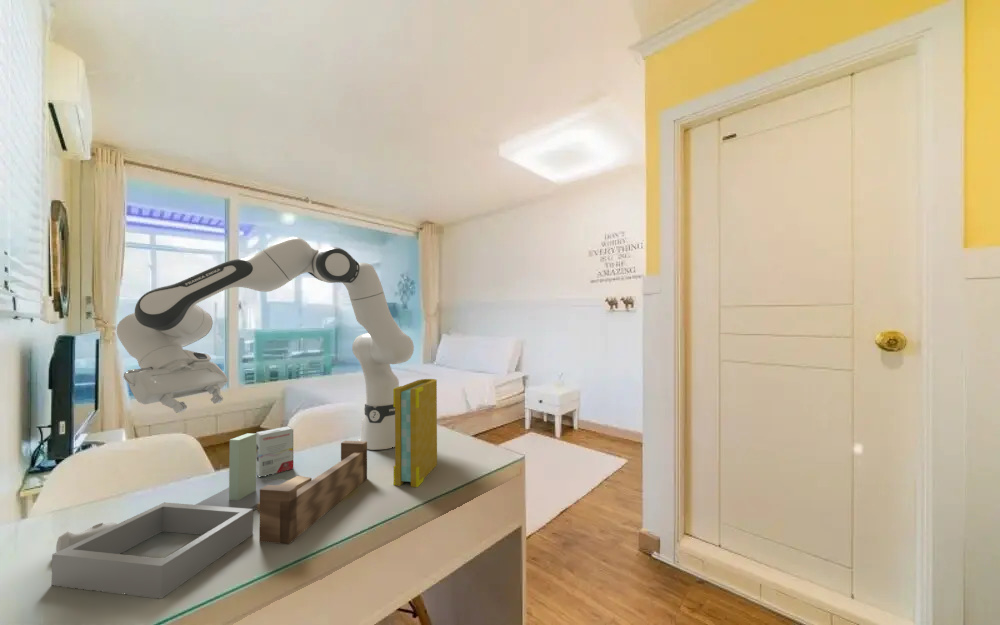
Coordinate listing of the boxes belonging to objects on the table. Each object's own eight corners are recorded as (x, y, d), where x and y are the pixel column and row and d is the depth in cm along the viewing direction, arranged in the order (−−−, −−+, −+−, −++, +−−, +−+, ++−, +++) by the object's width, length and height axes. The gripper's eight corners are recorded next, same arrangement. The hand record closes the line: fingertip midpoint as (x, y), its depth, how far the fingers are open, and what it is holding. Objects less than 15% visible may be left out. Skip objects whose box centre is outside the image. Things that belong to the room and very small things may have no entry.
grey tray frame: (163, 526, 75) (164, 502, 75) (252, 534, 72) (252, 509, 72) (51, 585, 58) (52, 554, 58) (160, 598, 55) (161, 565, 55)
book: (417, 487, 92) (417, 389, 93) (393, 485, 93) (393, 388, 94) (441, 461, 108) (440, 379, 109) (420, 460, 110) (420, 378, 110)
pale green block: (247, 489, 89) (247, 433, 90) (255, 490, 89) (256, 433, 89) (229, 499, 84) (229, 439, 85) (238, 500, 84) (238, 440, 84)
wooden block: (301, 488, 93) (301, 472, 93) (316, 491, 91) (316, 475, 91) (257, 512, 81) (257, 494, 81) (274, 515, 80) (274, 497, 80)
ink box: (289, 464, 108) (289, 425, 108) (293, 469, 104) (294, 428, 105) (255, 473, 102) (255, 431, 102) (259, 478, 98) (259, 435, 99)
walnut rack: (345, 477, 98) (345, 440, 98) (367, 478, 97) (367, 441, 98) (259, 541, 69) (259, 489, 70) (289, 544, 69) (289, 491, 69)
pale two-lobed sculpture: (119, 540, 73) (119, 542, 69) (56, 558, 67) (53, 561, 64) (120, 517, 74) (120, 518, 70) (58, 533, 68) (55, 535, 65)
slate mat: (248, 481, 96) (248, 477, 96) (295, 484, 94) (295, 480, 94) (179, 517, 79) (179, 512, 79) (235, 521, 77) (235, 517, 77)
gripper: (128, 361, 80) (164, 406, 78) (213, 353, 100) (244, 389, 98) (110, 381, 80) (146, 426, 79) (199, 369, 101) (229, 405, 99)
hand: (201, 405), depth 89 cm, fingers open, 8 cm apart
